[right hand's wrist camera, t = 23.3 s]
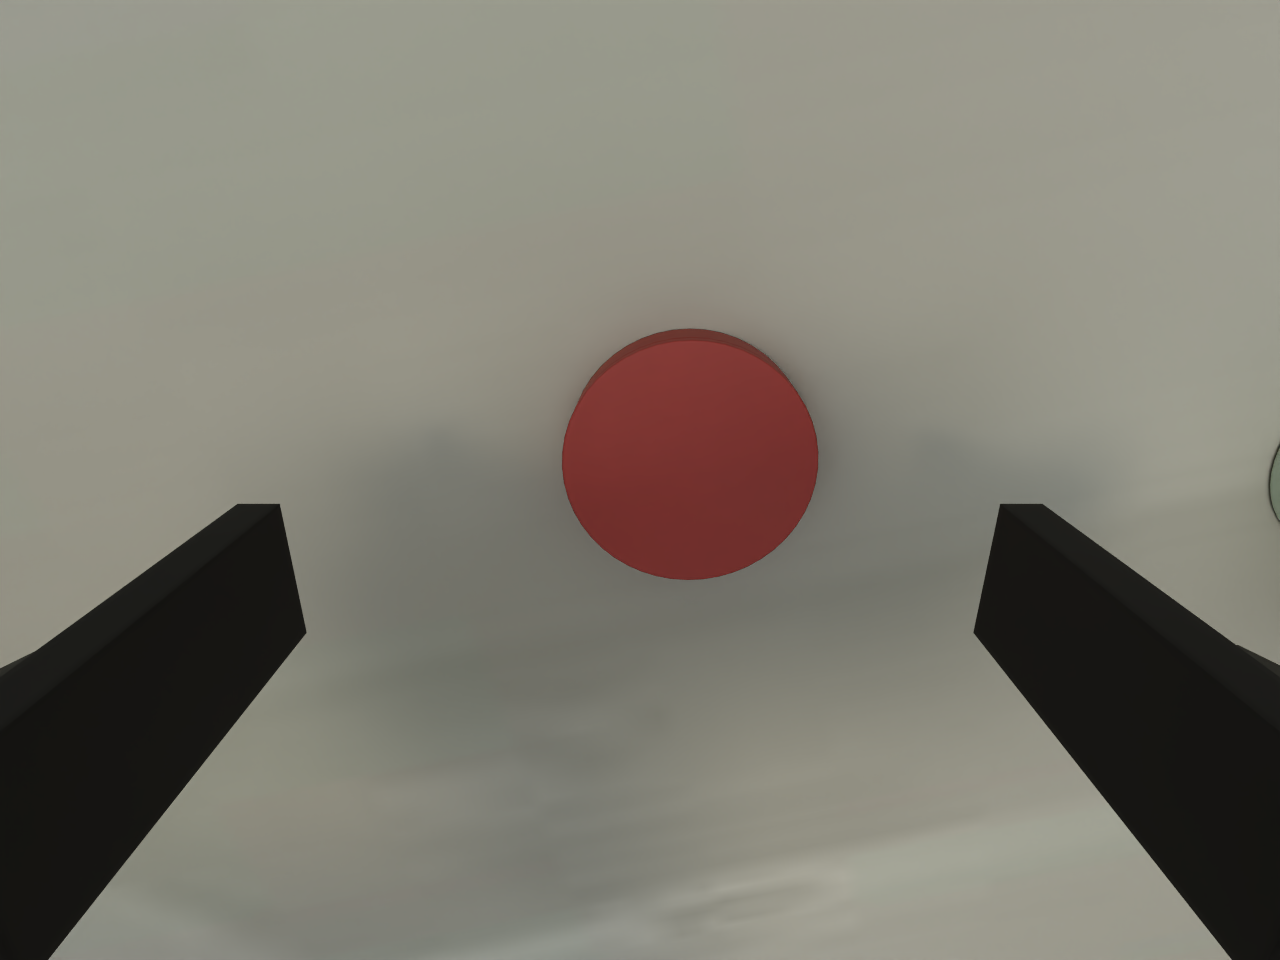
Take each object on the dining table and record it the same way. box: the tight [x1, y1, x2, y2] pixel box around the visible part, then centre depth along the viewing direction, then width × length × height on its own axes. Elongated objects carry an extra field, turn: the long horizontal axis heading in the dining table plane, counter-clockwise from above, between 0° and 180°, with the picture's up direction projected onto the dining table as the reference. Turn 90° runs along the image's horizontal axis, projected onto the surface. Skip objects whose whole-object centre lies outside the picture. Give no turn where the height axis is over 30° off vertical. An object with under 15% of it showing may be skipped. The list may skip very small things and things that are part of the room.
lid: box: [562, 329, 818, 580], centre depth 18 cm, size 6×6×2 cm
